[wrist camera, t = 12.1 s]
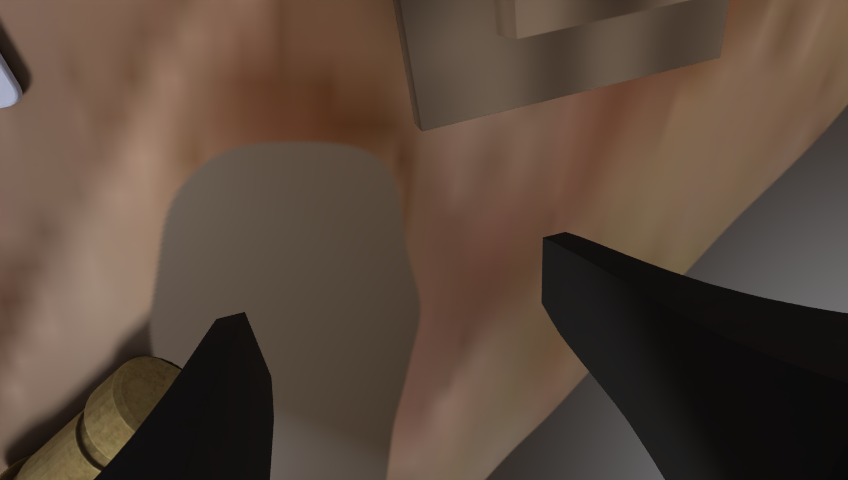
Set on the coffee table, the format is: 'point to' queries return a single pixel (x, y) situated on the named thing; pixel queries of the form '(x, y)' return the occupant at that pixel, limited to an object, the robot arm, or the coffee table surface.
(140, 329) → the coffee table surface
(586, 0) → the board
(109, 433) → the gavel
